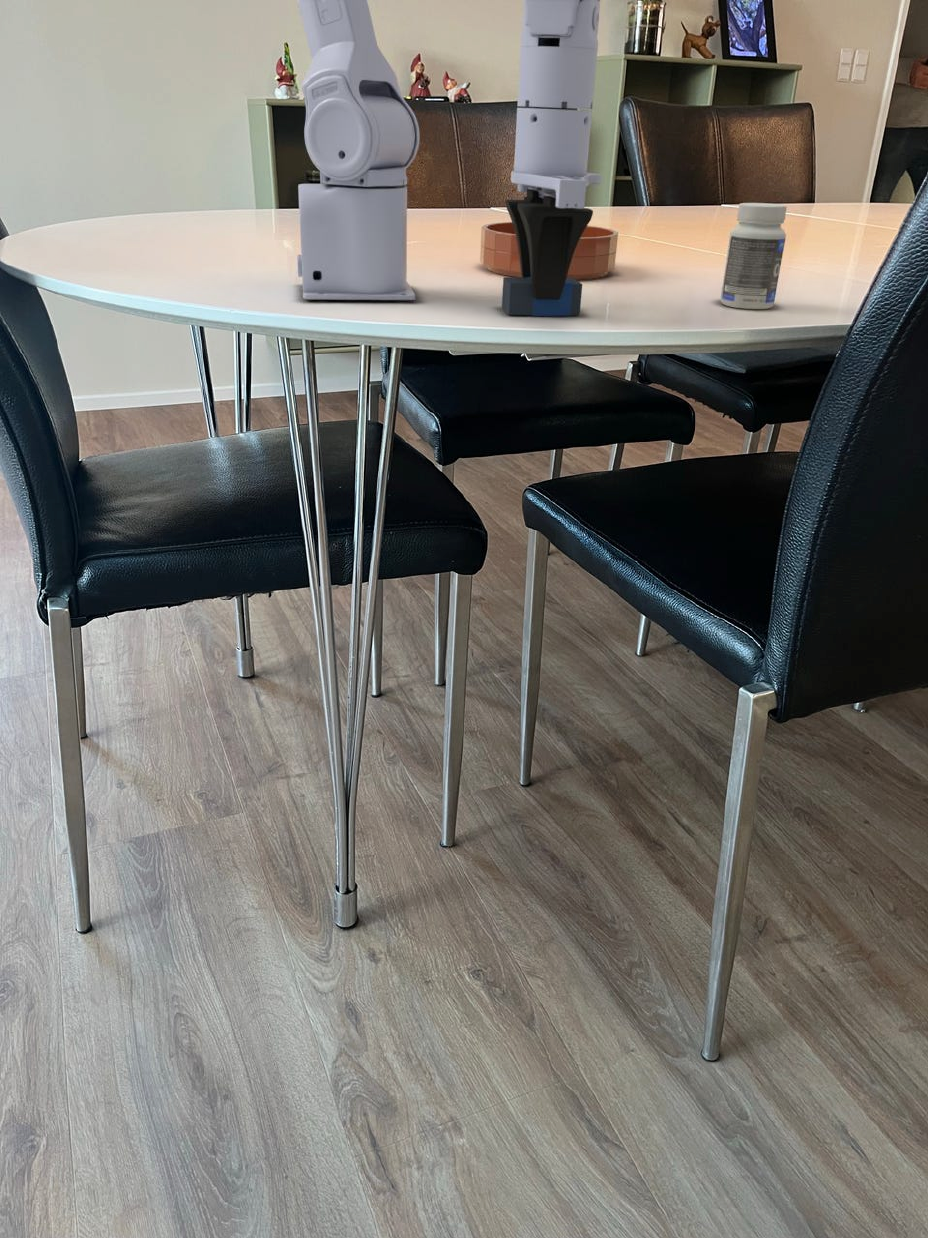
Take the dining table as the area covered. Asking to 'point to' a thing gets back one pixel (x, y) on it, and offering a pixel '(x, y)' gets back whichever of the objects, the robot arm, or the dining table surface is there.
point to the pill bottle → (754, 256)
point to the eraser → (523, 303)
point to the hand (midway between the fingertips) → (541, 294)
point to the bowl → (586, 263)
